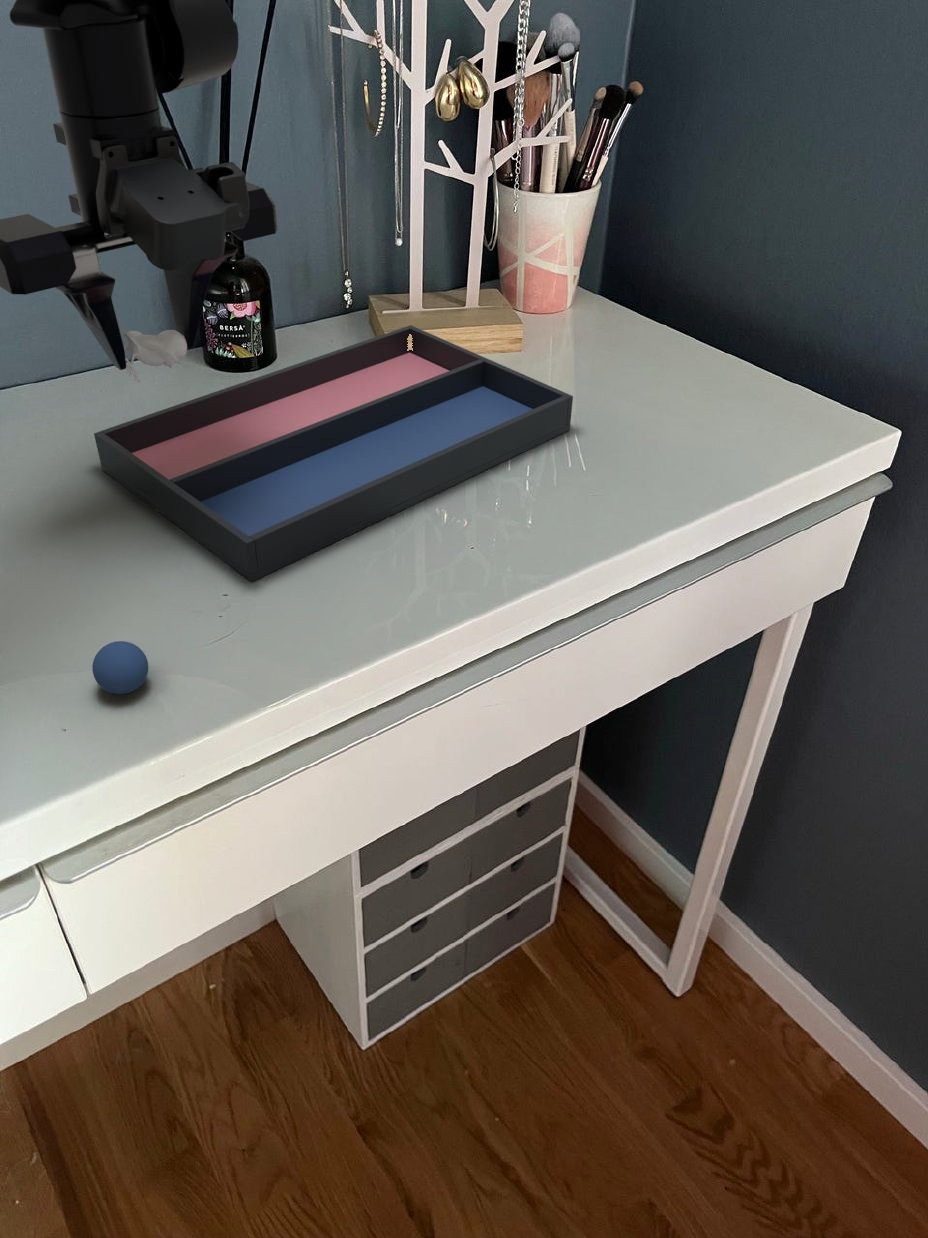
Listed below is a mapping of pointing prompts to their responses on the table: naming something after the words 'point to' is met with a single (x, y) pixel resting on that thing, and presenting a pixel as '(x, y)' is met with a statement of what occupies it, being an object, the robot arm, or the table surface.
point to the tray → (329, 445)
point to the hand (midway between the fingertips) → (154, 357)
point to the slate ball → (120, 667)
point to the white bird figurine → (154, 349)
